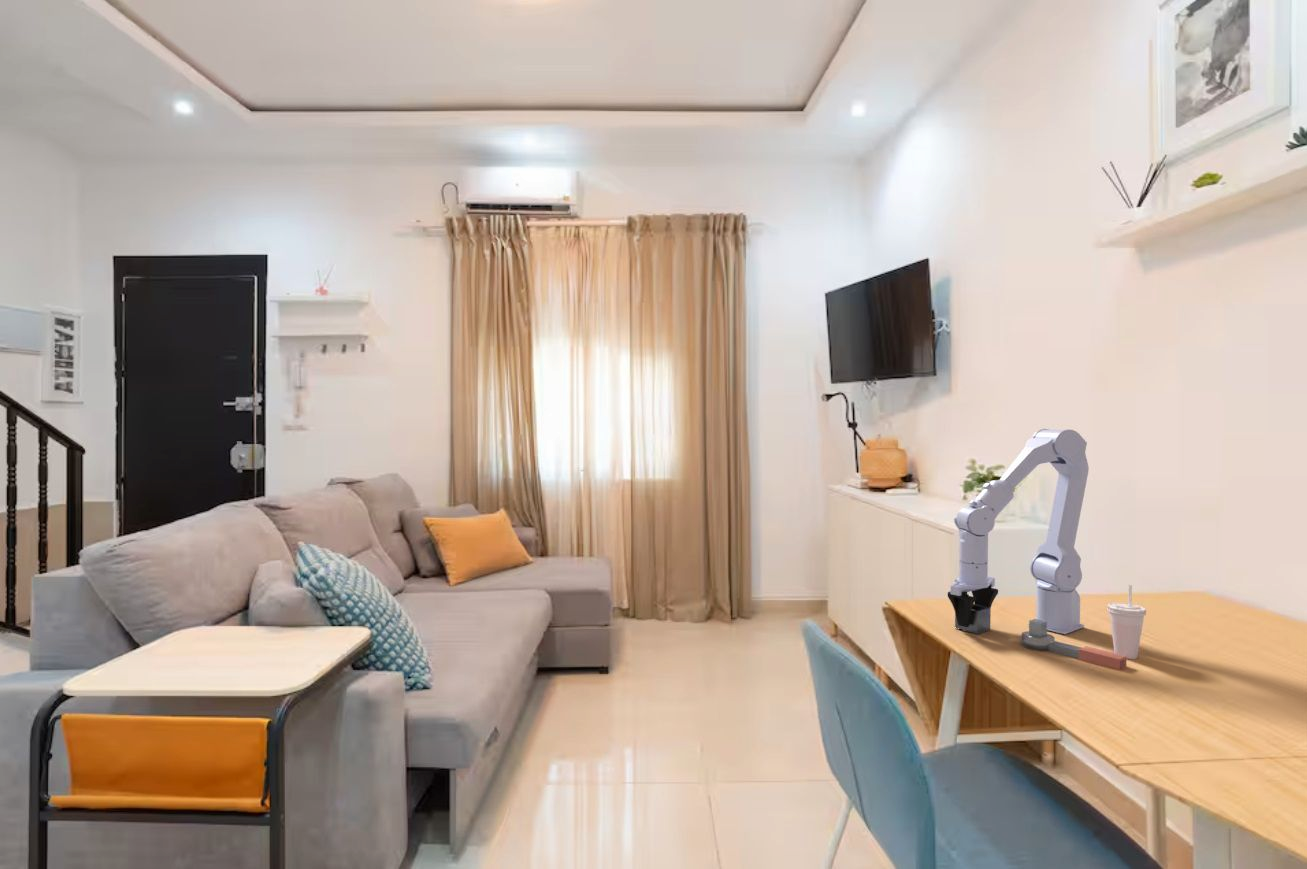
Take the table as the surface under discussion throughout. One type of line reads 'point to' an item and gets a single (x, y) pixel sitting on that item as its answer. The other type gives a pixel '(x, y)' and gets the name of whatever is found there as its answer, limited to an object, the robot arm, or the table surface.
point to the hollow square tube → (977, 620)
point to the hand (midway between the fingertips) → (972, 623)
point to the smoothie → (1126, 626)
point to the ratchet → (1068, 647)
